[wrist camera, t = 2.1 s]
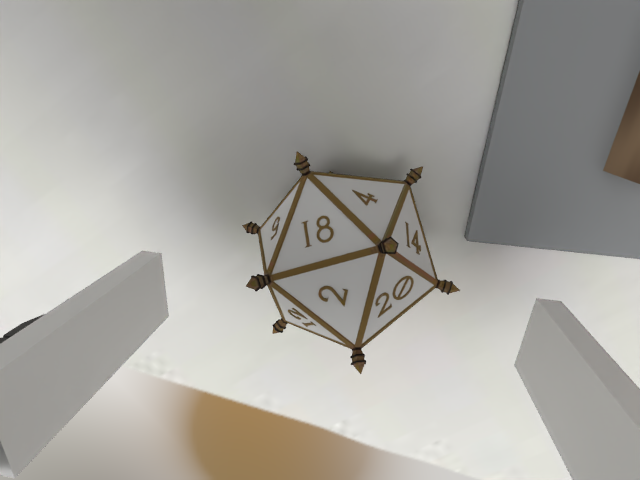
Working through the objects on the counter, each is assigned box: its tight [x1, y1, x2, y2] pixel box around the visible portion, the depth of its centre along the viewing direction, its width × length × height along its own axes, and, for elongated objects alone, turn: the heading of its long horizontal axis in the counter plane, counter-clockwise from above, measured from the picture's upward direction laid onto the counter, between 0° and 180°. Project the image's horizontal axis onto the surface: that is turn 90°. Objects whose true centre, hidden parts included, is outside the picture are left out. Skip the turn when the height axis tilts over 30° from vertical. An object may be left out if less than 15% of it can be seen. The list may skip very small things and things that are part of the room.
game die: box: [242, 152, 460, 374], centre depth 16 cm, size 9×8×10 cm
